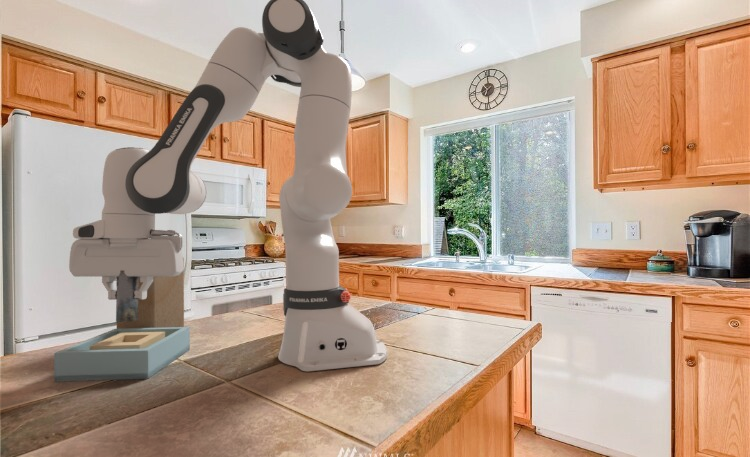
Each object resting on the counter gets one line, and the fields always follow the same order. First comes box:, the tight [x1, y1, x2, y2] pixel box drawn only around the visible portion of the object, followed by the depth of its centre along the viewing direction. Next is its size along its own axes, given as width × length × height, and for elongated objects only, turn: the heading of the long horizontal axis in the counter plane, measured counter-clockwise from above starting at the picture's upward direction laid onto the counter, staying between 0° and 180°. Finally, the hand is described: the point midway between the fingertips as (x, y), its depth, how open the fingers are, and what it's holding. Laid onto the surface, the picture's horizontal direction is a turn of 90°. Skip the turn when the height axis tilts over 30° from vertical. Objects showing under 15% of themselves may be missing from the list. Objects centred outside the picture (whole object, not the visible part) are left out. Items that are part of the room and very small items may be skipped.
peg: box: [115, 270, 139, 323], centre depth 72 cm, size 4×4×10 cm
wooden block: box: [115, 257, 185, 329], centre depth 87 cm, size 10×10×20 cm
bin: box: [53, 326, 191, 383], centre depth 72 cm, size 16×16×5 cm
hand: (127, 299), depth 72 cm, fingers closed on peg, 4 cm apart
